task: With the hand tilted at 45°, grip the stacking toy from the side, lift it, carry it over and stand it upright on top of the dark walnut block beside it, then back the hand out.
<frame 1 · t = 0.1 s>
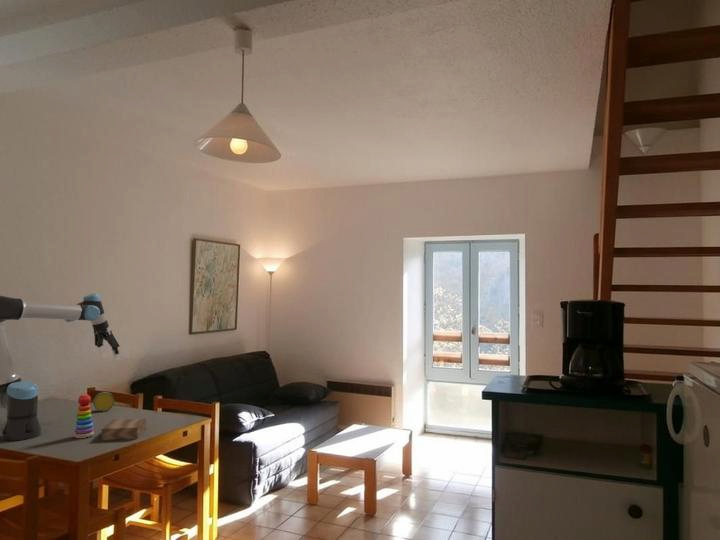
hand: (111, 358, 283), 28 cm above the table, tool tilted 20°, fingers open, 13 cm apart
decorative artifact: (103, 410, 282), on the table
stacking toy: (84, 436, 234), on the table
walnut block: (124, 434, 237), on the table
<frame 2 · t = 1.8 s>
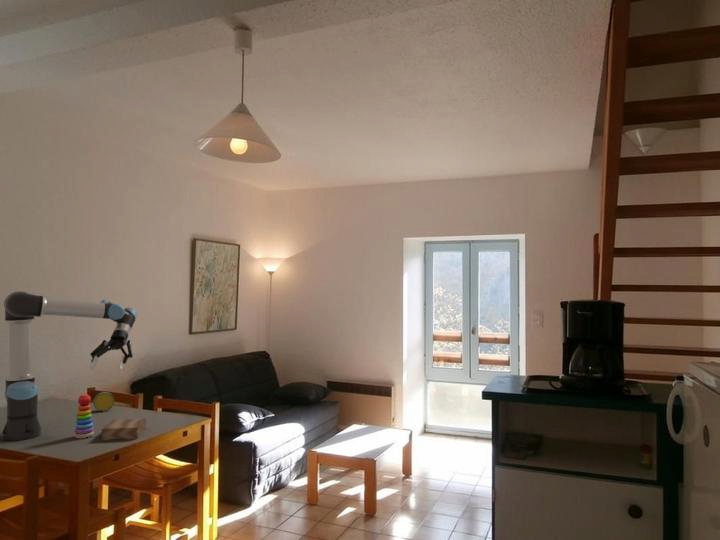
hand: (105, 368, 252), 28 cm above the table, tool tilted 45°, fingers open, 13 cm apart
nothing on the table moved.
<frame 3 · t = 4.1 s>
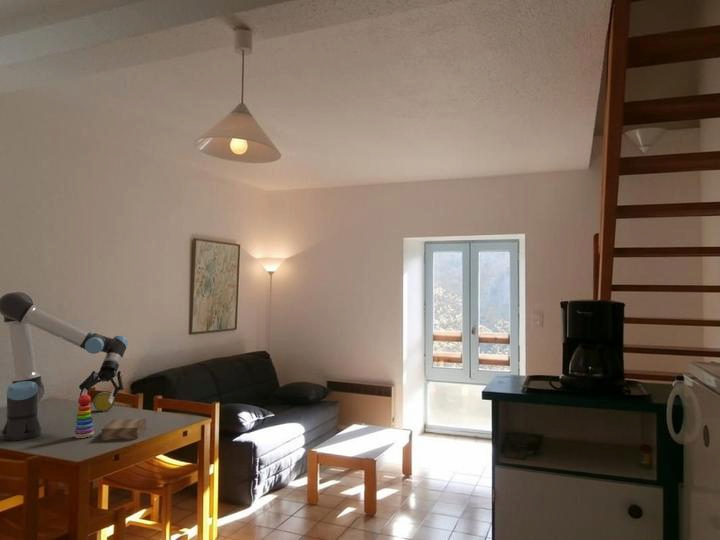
hand: (95, 402, 240), 14 cm above the table, tool tilted 45°, fingers open, 13 cm apart
nothing on the table moved.
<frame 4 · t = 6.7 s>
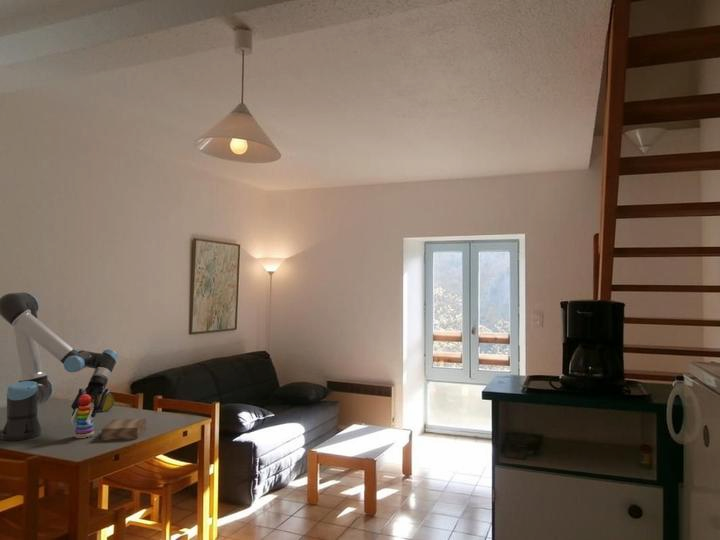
hand: (80, 423, 231), 7 cm above the table, tool tilted 45°, fingers closed on stacking toy, 6 cm apart
stacking toy: (84, 436, 234), on the table, touching gripper
everything else where it was.
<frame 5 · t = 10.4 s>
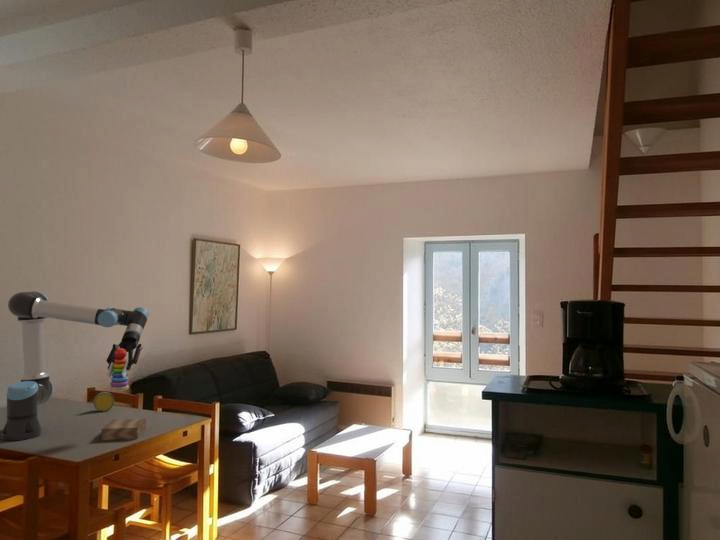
hand: (115, 375, 233), 27 cm above the table, tool tilted 45°, fingers closed on stacking toy, 6 cm apart
stacking toy: (119, 390, 237), point 20 cm above the table, touching gripper
everything else where it was.
when the fingers open (13 cm above the table, at t = 14.1 s): stacking toy drops 1 cm, resting on walnut block.
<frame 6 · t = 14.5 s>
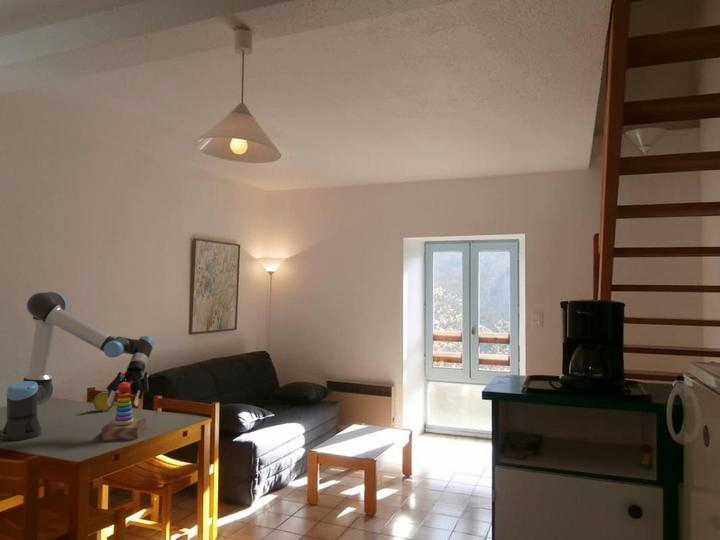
hand: (121, 404, 234), 14 cm above the table, tool tilted 45°, fingers open, 11 cm apart
stacking toy: (124, 424, 237), point 5 cm above the table, touching walnut block
everything else where it was.
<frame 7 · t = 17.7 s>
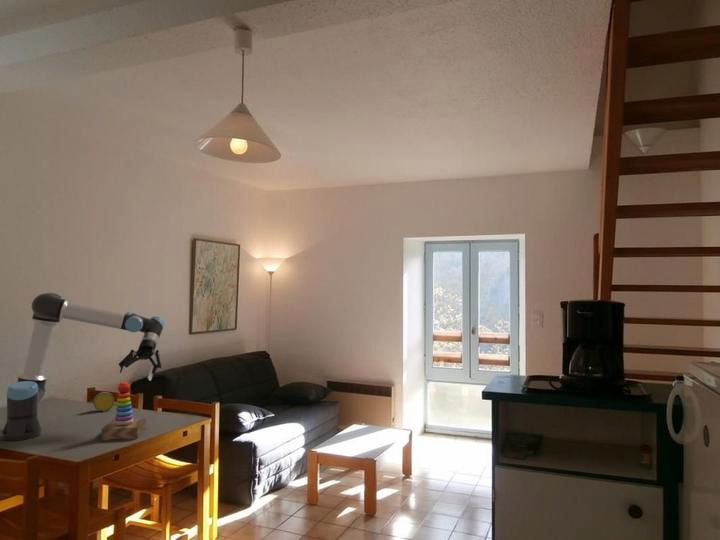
hand: (134, 379, 246), 23 cm above the table, tool tilted 45°, fingers open, 13 cm apart
nothing on the table moved.
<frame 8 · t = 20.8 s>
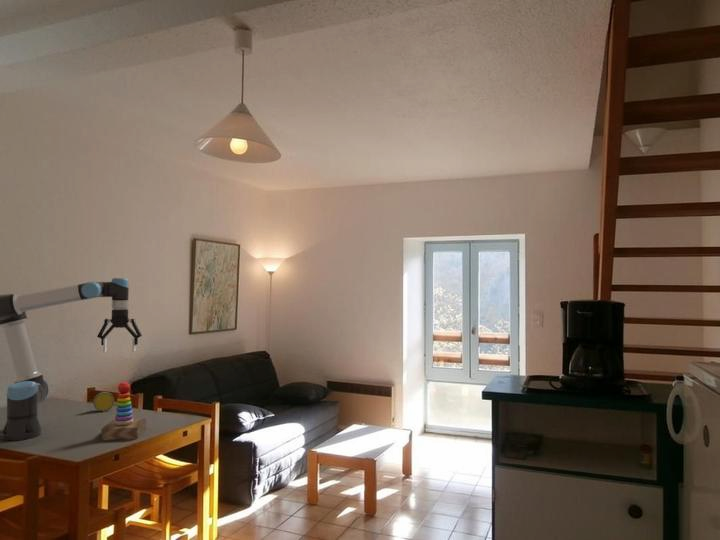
hand: (119, 351, 259), 35 cm above the table, tool pointing down, fingers open, 13 cm apart
nothing on the table moved.
at the end: stacking toy inside the target area on the walnut block (0.3 cm from its centre), point 4.8 cm above the walnut block's base; stacking toy tilted 0°; the gripper is holding nothing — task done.
